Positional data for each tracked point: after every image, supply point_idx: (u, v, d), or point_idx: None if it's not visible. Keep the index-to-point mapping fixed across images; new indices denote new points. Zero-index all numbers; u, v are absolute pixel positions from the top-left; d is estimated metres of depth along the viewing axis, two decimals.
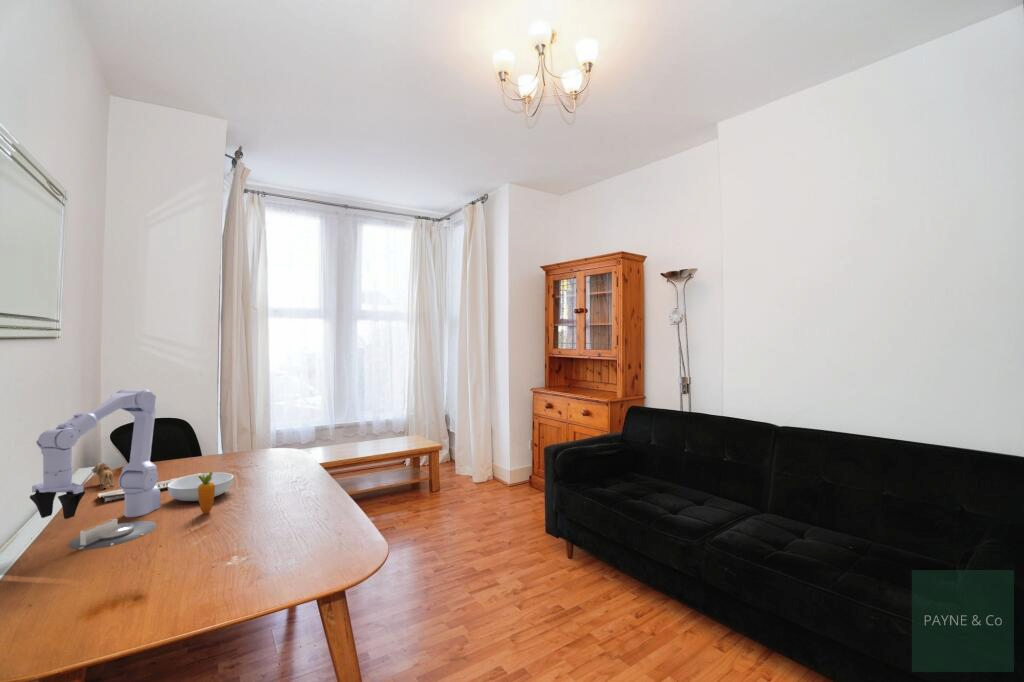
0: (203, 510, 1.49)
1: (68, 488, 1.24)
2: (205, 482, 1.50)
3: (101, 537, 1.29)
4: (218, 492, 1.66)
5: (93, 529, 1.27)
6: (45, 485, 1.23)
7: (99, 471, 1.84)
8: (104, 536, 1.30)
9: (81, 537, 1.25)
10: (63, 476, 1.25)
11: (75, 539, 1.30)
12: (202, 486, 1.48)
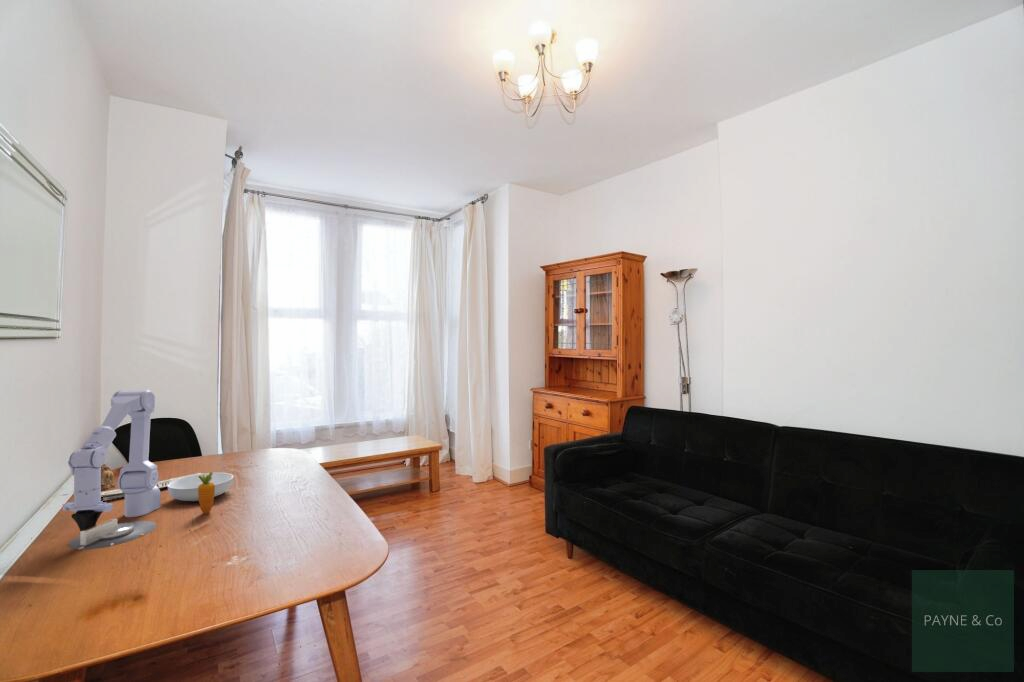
0: (203, 510, 1.49)
1: (98, 507, 1.26)
2: (205, 482, 1.50)
3: (101, 537, 1.29)
4: (218, 492, 1.66)
5: (93, 529, 1.27)
6: (76, 504, 1.26)
7: None
8: (104, 536, 1.30)
9: (81, 537, 1.25)
10: (93, 495, 1.27)
11: (75, 539, 1.30)
12: (202, 486, 1.48)
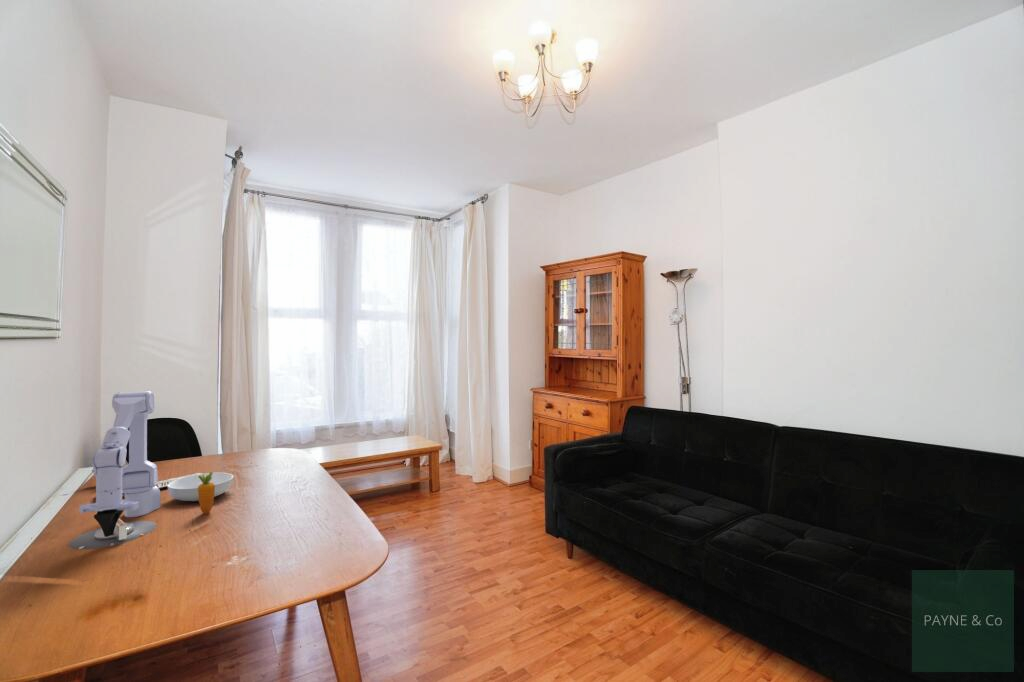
0: (203, 510, 1.49)
1: (125, 505, 1.27)
2: (205, 482, 1.50)
3: None
4: (218, 492, 1.66)
5: (124, 524, 1.31)
6: (100, 504, 1.25)
7: None
8: None
9: (120, 532, 1.28)
10: (117, 494, 1.28)
11: (75, 539, 1.30)
12: (202, 486, 1.48)
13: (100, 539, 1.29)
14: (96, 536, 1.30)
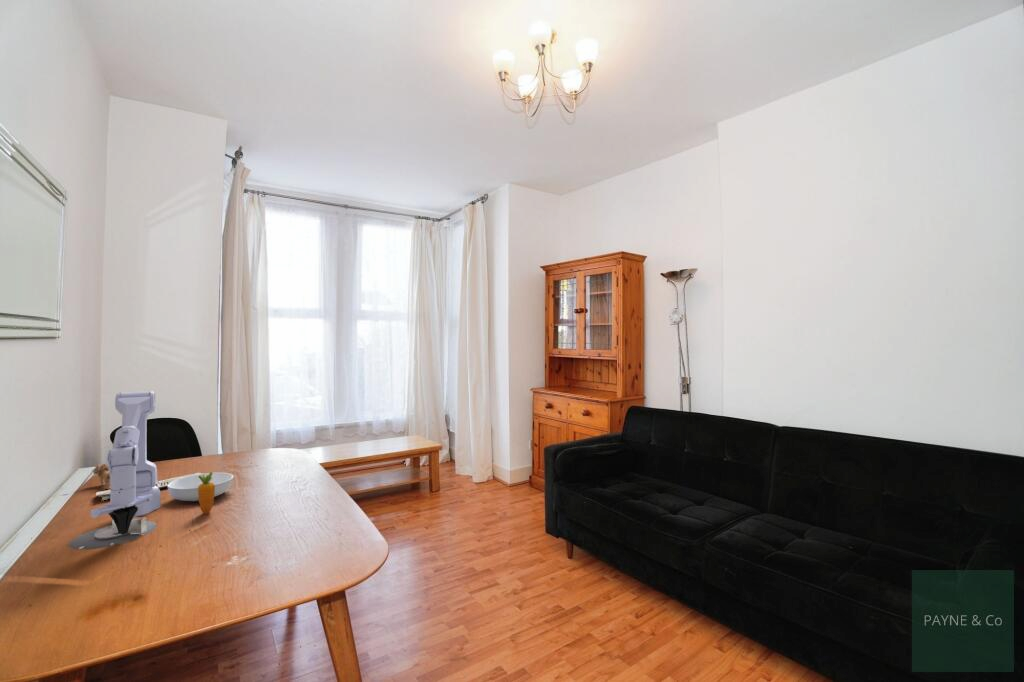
0: (203, 510, 1.49)
1: (146, 497, 1.34)
2: (205, 482, 1.50)
3: None
4: (218, 492, 1.66)
5: None
6: (128, 500, 1.28)
7: (100, 472, 1.83)
8: None
9: (142, 525, 1.33)
10: None
11: (75, 539, 1.30)
12: (202, 486, 1.48)
13: (111, 538, 1.30)
14: (104, 536, 1.30)
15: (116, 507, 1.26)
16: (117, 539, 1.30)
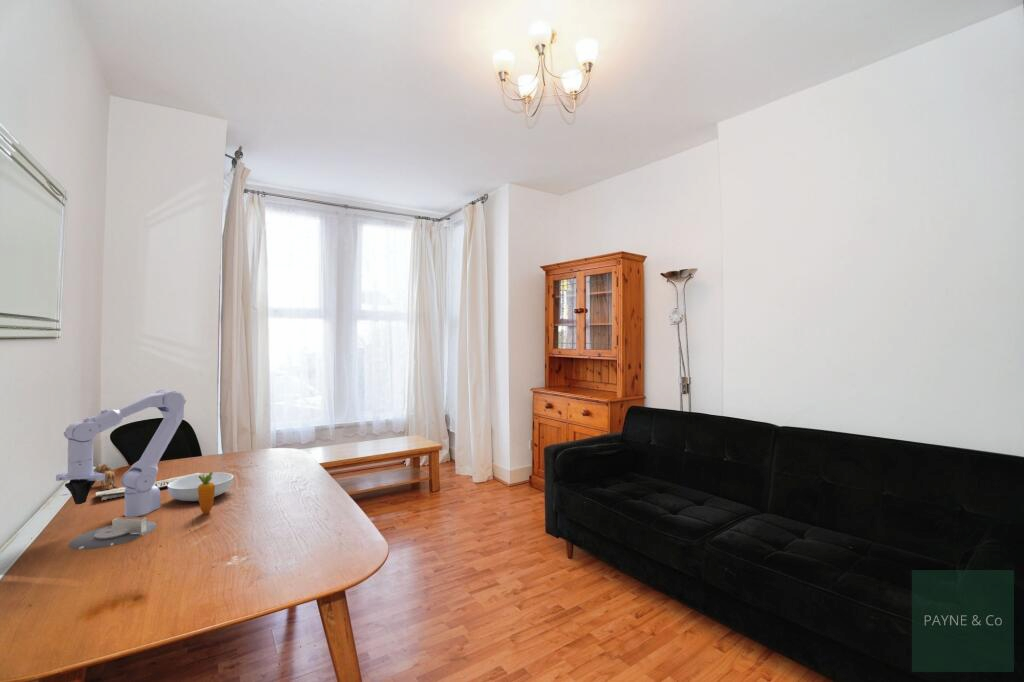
0: (203, 510, 1.49)
1: (91, 476, 1.36)
2: (205, 482, 1.50)
3: None
4: (218, 492, 1.66)
5: None
6: (70, 474, 1.35)
7: (100, 472, 1.83)
8: None
9: (142, 525, 1.33)
10: (86, 465, 1.36)
11: (75, 539, 1.30)
12: (202, 486, 1.48)
13: (111, 538, 1.30)
14: (104, 536, 1.30)
15: (64, 477, 1.35)
16: (117, 539, 1.30)
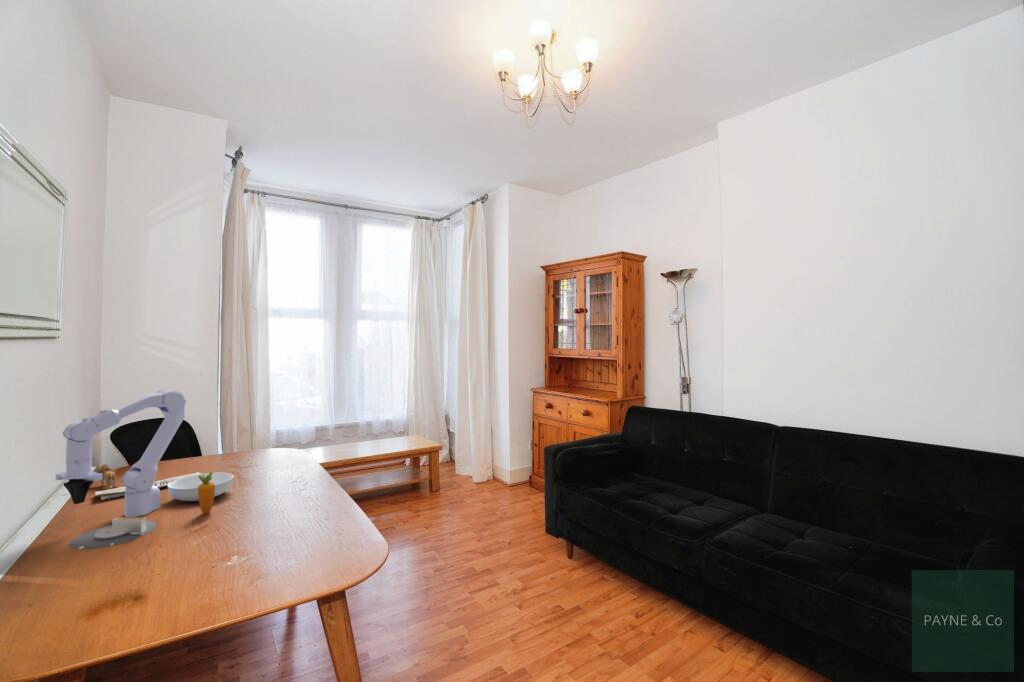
0: (203, 510, 1.49)
1: (89, 476, 1.36)
2: (205, 482, 1.50)
3: None
4: (218, 492, 1.66)
5: None
6: (68, 473, 1.35)
7: (101, 472, 1.82)
8: None
9: (142, 525, 1.33)
10: (84, 465, 1.37)
11: (75, 539, 1.30)
12: (202, 486, 1.48)
13: (111, 538, 1.30)
14: (104, 536, 1.30)
15: (63, 476, 1.36)
16: (117, 539, 1.30)
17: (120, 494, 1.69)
